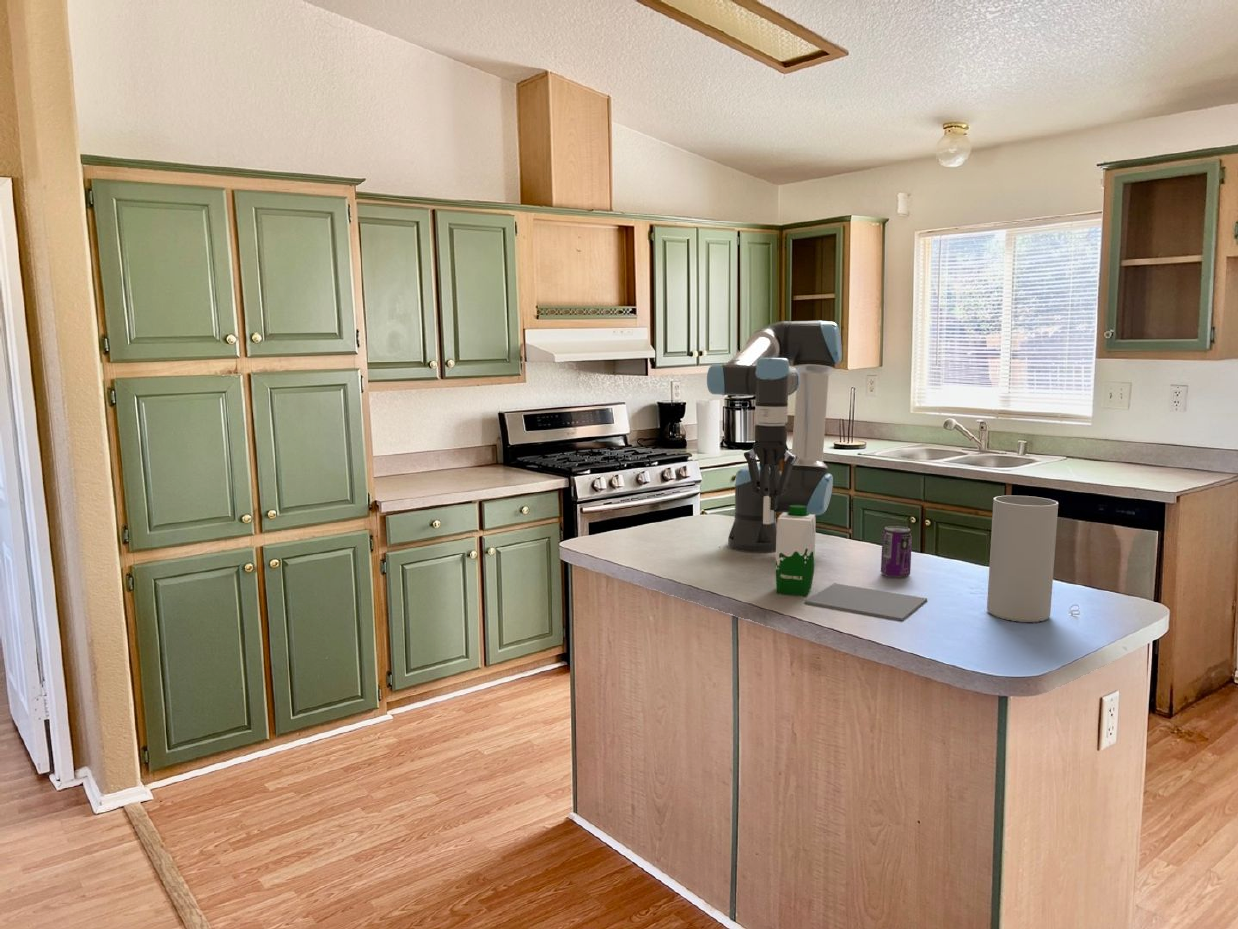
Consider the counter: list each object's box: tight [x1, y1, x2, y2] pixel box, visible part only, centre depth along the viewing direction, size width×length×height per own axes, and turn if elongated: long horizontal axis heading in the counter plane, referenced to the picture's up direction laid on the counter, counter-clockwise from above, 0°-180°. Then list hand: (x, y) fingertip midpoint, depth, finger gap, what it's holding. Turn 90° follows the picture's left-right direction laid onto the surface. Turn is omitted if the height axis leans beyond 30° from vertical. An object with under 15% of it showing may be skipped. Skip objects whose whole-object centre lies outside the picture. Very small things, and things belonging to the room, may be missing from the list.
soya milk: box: [775, 505, 816, 597], centre depth 209 cm, size 9×9×20 cm
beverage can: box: [880, 525, 913, 579], centre depth 224 cm, size 7×7×12 cm
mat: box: [803, 583, 928, 622], centre depth 201 cm, size 22×18×1 cm
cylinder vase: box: [986, 495, 1059, 623], centre depth 191 cm, size 12×12×25 cm
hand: (768, 523), depth 212 cm, fingers closed
